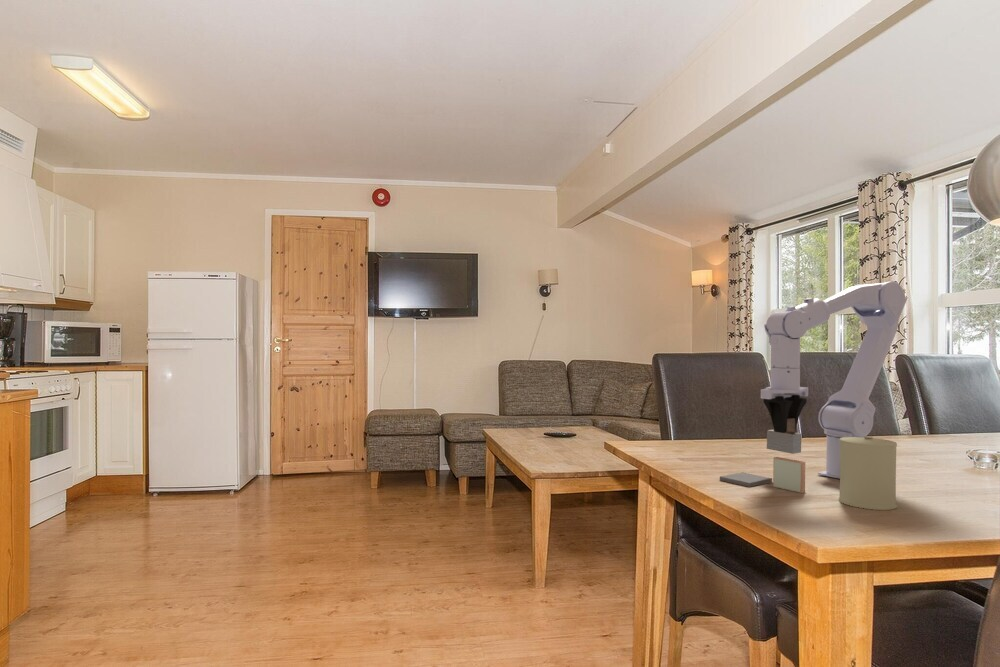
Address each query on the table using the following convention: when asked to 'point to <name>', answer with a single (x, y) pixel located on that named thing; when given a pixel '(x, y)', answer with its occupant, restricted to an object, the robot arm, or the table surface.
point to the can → (868, 473)
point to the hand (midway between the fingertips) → (784, 431)
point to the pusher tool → (785, 439)
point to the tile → (789, 474)
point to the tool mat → (745, 479)
